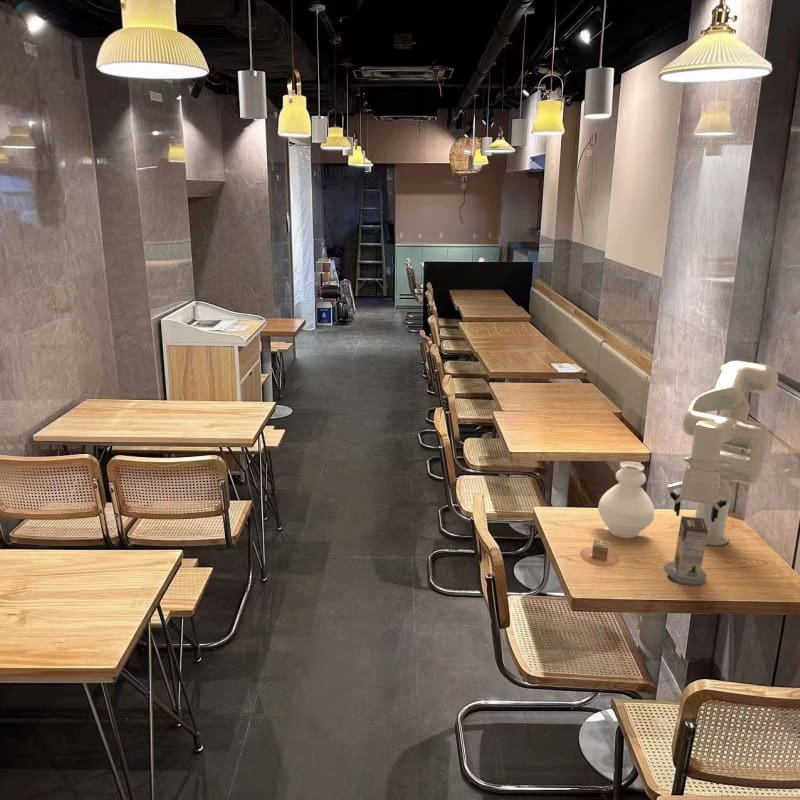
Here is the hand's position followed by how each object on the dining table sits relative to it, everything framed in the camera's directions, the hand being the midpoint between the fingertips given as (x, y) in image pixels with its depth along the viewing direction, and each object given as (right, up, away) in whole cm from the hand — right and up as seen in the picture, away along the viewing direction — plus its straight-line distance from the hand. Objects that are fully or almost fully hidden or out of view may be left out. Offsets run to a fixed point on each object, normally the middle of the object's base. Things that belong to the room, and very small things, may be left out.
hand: (694, 516), depth 205 cm
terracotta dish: (-25, -15, +12) cm, 32 cm away
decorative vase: (-12, -11, +29) cm, 33 cm away
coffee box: (-1, -17, +5) cm, 18 cm away
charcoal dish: (-1, -18, +5) cm, 19 cm away
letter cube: (-25, -14, +12) cm, 31 cm away
